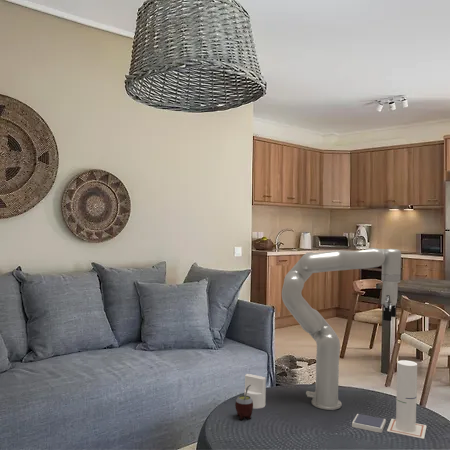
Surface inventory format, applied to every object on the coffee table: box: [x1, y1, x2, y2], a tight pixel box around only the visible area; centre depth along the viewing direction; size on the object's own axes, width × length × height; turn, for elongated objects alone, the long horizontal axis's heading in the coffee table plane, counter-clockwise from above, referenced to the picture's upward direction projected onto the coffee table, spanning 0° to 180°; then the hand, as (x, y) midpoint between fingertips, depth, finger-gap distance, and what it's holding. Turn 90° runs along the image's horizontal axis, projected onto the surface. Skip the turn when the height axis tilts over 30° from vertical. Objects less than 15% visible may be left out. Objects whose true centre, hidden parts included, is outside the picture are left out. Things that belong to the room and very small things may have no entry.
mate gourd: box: [234, 385, 254, 421], centre depth 193 cm, size 8×8×15 cm
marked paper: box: [386, 418, 427, 440], centre depth 186 cm, size 13×13×1 cm
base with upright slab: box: [244, 373, 267, 410], centre depth 208 cm, size 9×9×12 cm
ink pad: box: [351, 413, 387, 434], centre depth 189 cm, size 11×10×2 cm
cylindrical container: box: [395, 359, 418, 432], centre depth 186 cm, size 7×7×25 cm
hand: (389, 318), depth 206 cm, fingers open, 9 cm apart
